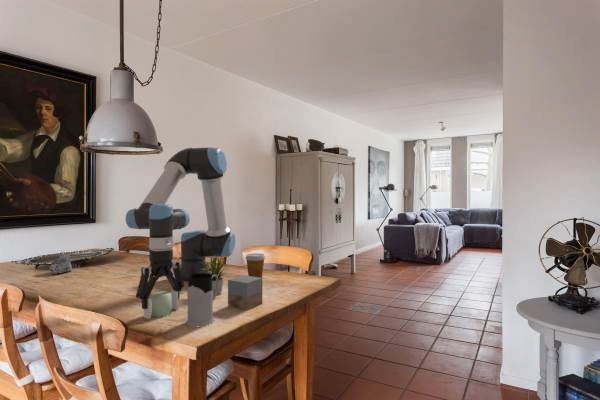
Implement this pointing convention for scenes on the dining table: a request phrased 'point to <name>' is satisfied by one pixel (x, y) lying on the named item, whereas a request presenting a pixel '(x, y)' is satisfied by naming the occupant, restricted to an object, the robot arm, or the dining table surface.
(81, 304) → the dining table surface
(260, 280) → the charcoal top block
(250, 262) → the disposable coffee cup
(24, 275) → the dining table surface
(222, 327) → the dining table surface
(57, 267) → the mineral rock
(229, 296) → the walnut base block
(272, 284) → the dining table surface
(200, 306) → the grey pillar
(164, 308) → the pale green rounded cylinder
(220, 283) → the house plant
